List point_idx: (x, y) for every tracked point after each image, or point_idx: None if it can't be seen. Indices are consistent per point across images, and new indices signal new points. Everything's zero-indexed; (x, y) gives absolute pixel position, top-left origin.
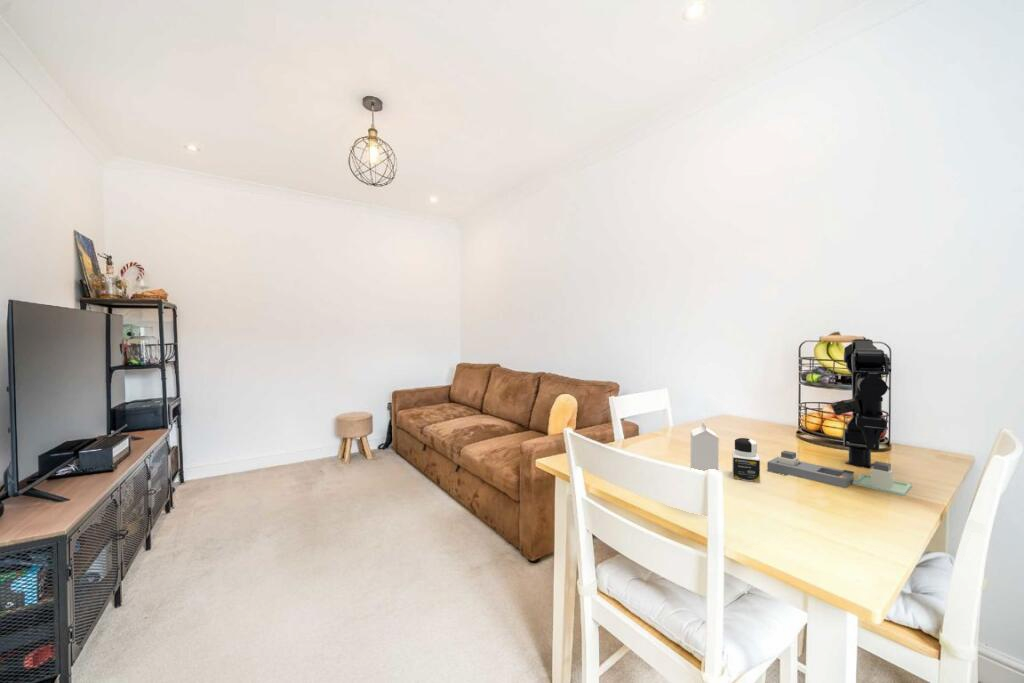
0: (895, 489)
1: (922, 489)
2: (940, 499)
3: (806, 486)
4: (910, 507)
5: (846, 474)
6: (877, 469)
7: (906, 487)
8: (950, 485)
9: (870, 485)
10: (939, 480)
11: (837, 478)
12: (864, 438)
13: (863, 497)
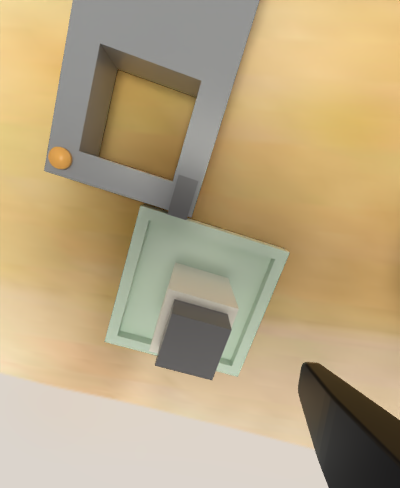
0: None
1: (241, 388)
2: (164, 408)
3: (2, 21)
4: (22, 332)
5: (137, 185)
6: (168, 312)
7: None
8: None
9: (131, 260)
10: None
11: (52, 141)
12: (314, 383)
13: (21, 223)
